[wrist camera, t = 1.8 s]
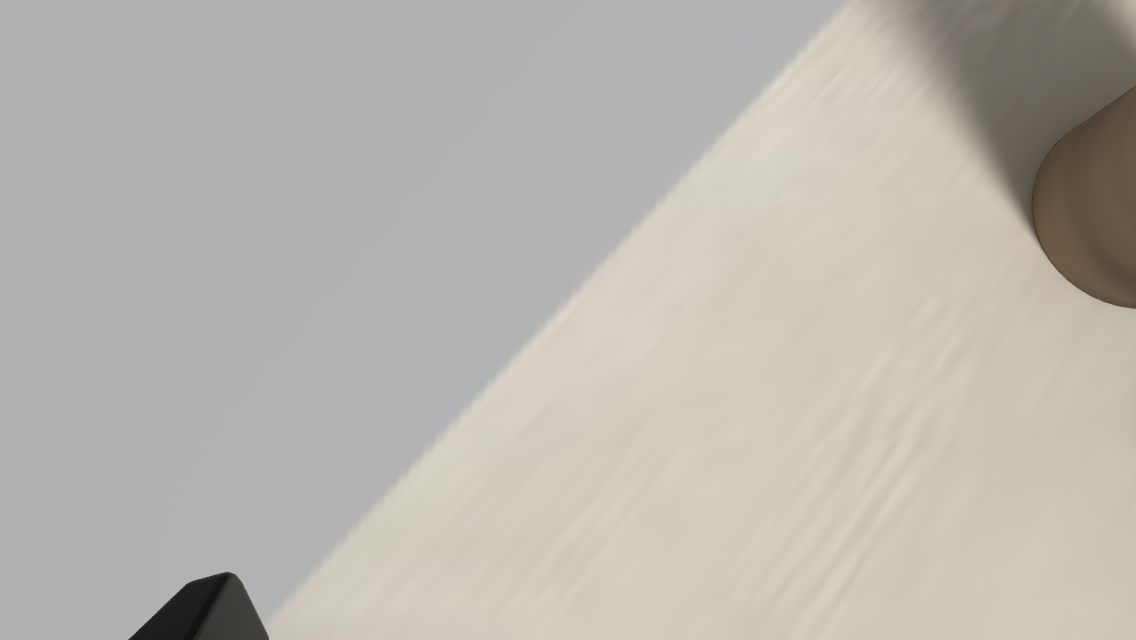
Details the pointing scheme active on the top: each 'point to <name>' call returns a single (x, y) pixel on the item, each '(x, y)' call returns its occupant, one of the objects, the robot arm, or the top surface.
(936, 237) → the top surface
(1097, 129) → the walnut cylinder
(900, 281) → the top surface
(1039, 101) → the top surface
